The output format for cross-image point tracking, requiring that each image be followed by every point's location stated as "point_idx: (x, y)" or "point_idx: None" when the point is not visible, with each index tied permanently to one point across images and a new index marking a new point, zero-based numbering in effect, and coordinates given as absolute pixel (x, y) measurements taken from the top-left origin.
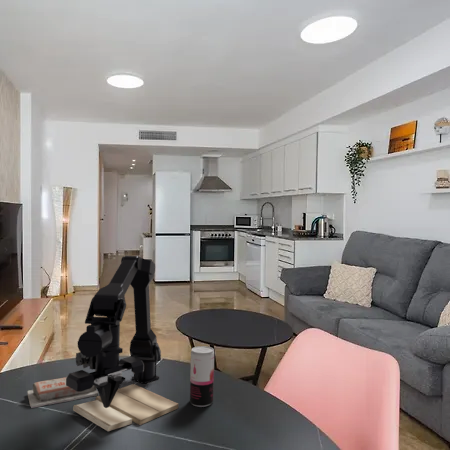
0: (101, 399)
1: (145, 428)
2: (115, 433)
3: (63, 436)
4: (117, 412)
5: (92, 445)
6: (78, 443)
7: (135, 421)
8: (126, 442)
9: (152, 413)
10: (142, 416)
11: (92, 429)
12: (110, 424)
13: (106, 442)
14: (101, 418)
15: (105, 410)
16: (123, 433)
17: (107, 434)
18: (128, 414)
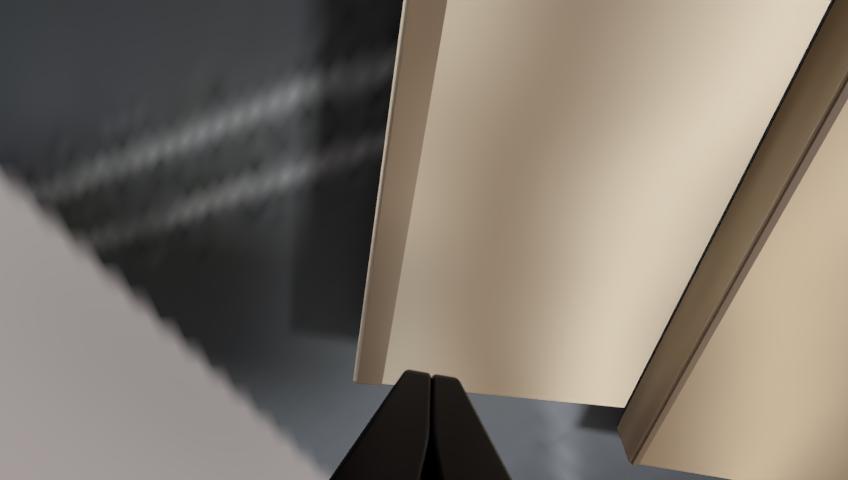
0: (342, 468)
1: (590, 473)
2: None
3: (38, 16)
4: (692, 217)
5: (182, 343)
6: (110, 242)
7: (643, 390)
8: None
9: (797, 473)
10: (708, 441)
11: (333, 161)
12: (395, 367)
13: (279, 389)
14: (434, 213)
15: (676, 51)
16: None
17: None
18: (702, 326)
